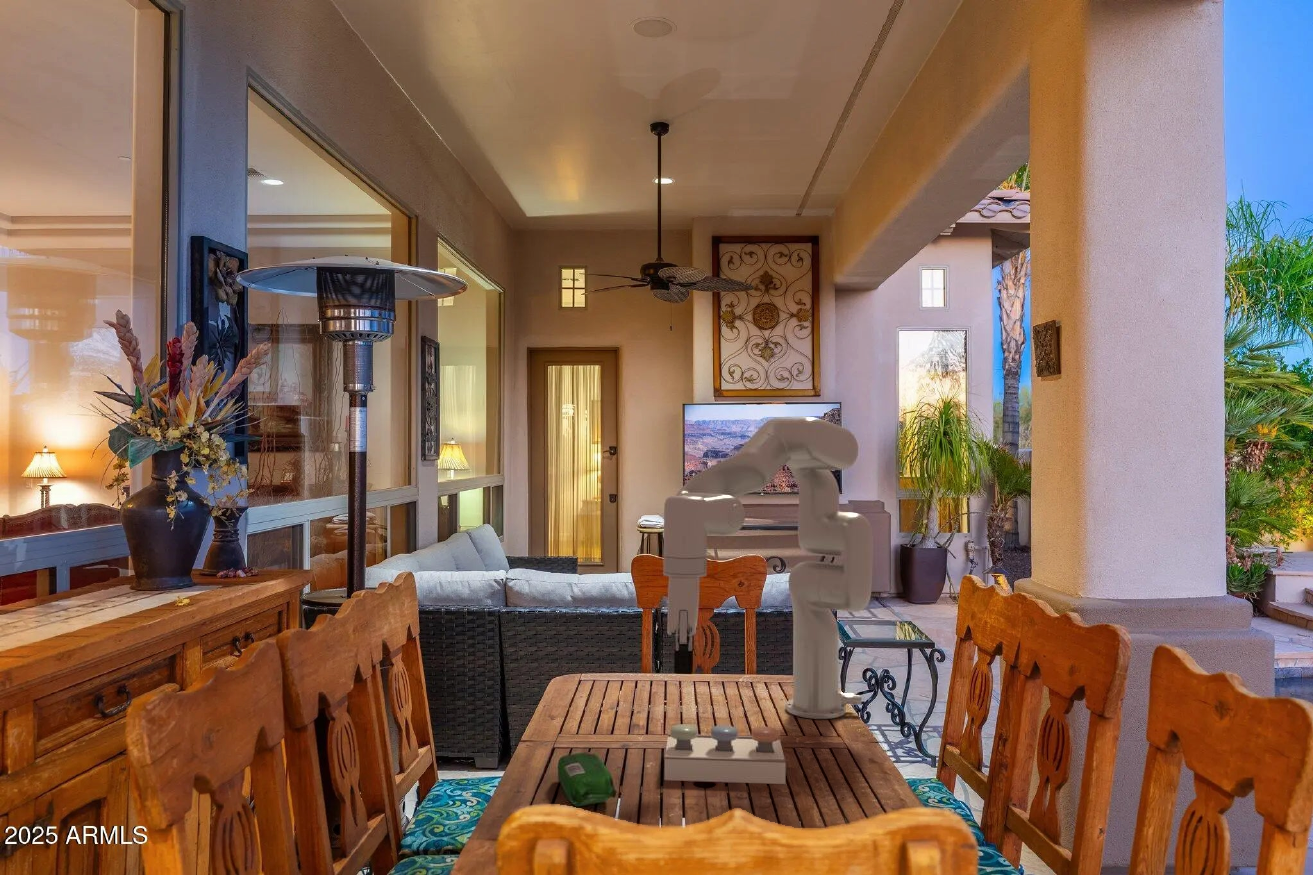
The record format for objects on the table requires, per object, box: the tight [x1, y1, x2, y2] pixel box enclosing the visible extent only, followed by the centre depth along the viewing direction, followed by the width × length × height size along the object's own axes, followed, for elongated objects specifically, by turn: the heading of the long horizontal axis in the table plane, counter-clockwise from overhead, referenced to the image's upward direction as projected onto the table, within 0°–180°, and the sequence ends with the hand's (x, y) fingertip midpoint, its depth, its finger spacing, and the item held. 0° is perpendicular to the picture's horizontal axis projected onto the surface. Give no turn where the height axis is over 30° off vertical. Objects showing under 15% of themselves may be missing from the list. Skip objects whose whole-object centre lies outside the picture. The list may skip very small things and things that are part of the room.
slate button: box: [710, 725, 739, 752], centre depth 146 cm, size 5×5×4 cm
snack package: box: [557, 751, 618, 807], centre depth 135 cm, size 7×16×5 cm, turn 17°
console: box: [664, 733, 787, 785], centre depth 146 cm, size 20×12×4 cm, turn 86°
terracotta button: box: [751, 726, 779, 753], centre depth 146 cm, size 5×5×4 cm
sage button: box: [670, 723, 698, 750], centre depth 147 cm, size 5×5×4 cm
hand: (683, 672), depth 147 cm, fingers closed
